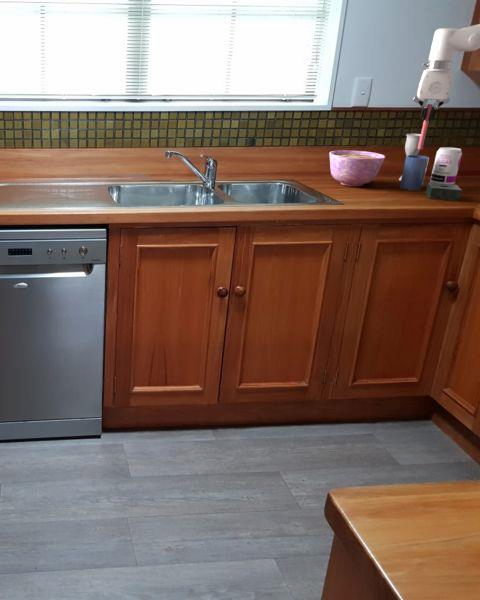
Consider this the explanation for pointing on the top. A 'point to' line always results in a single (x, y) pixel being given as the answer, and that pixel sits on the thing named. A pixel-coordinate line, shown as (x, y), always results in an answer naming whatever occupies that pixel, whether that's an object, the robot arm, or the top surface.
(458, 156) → the supplement can
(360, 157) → the bowl of food
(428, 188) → the straw stand
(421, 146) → the straw
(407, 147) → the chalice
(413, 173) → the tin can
